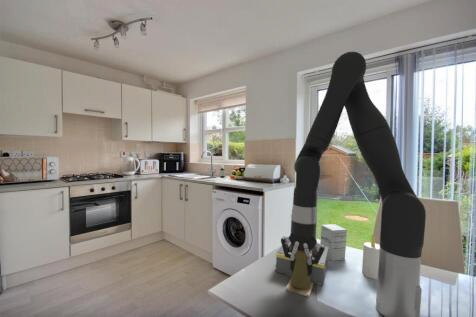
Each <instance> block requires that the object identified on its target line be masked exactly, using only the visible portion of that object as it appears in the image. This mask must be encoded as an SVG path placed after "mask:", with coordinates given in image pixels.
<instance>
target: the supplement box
mask: <svg viewBox="0 0 476 317" xmlns="http://www.w3.org/2000/svg"><path fill="white" fill-rule="evenodd" d="M347 232H348V229H346V228H343V227H341V226H339V225H337V224H335V223H331V224H321V228H320V243H319V244H321V245H322V244H324V245H325V246H327V247H329V251H328V261H331V262H333V261H342V260H346V251H347V250H346V249H347V248H346V247H347Z"/></svg>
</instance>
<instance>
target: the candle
mask: <svg viewBox="0 0 476 317" xmlns="http://www.w3.org/2000/svg"><path fill="white" fill-rule="evenodd" d="M379 249H380V243H376V241H375V234H374V233H372V234H371V236H370V241H368V242H364V243H363V251H362V264H361V265H362V266H361V267H362V268H361V274H363V275H364V276H365V277H366V278H367V277H368V278H370V279H372V280H373V279H375V280H378V265H379Z"/></svg>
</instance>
